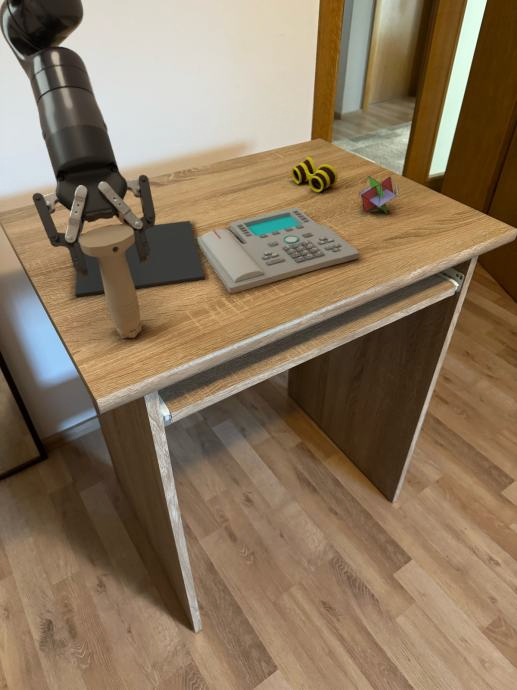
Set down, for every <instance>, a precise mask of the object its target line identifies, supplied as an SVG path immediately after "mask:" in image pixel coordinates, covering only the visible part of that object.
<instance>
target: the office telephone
mask: <svg viewBox="0 0 517 690" xmlns="http://www.w3.org/2000/svg"><path fill="white" fill-rule="evenodd" d="M197 245H198V247H199V249H200V251H201V252H202V253H203V255H204V256H205V258H206V259H207V261H208V264H209V265H210V267H211V268H212V269H213V271H214V272H215V274H216V275H217V276H218V278H219V279H220V281H221V282H222V283H223V285H224V287H225V288H226V290H227V291H228V293H229V294H234V293H238V292H243V291H246V290H249V289H253V288H256V287H260V286H264V285H267V284H271V283H275V282H277V281H281V280H284V279H288V278H291V277H296V276H298V275H299V276H300V275H302V274H306V273H309V272H312V271H316V270H319V269H323V268H326V267H330V266H335V265H338V264H339V265H340V264H343V263H347V262H350V261H353V260H354V261H355V260H358V259H359V255H360V252H359V250H358V249H357V248H355V247H354V246H353V245H352V244H350V243H349V242H347V241H346V240H345V239H344V238H342V237H341V236H340V235H338V234H337V232H334V230H332V229H331V228H329V227H328V226H326V225H324V224H319V223H317V222H316V221H315V220H314V219H312V218H311V217H310V216H308V215H307V214H306V213H304V212H303V211H302V210H301V208H300V207H292V208H286V209H283V210H279V211H274V212H270V213H269V212H268V213H265V214H261V215H257V216H253V217H248V218H244V219H240V220H235V221H233V222H230V223H229V230H228V229H224V228H223V229H222V228H221V229H220V228H219V229H212V230H210V231H208V232H206V233H204V234H203V235H199V236H197Z"/></svg>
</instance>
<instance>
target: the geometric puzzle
mask: <svg viewBox="0 0 517 690" xmlns="http://www.w3.org/2000/svg"><path fill="white" fill-rule="evenodd" d="M367 181H369V182H368V183H369V186H368V187H367V188H365V187H362V188H363V189H362V191H360V192H359V193H358V195H359V198H360V201H361V205H362V208H363V211H364V213H365V214H367V213H369V214H370V213H373V212H371V211H373V210H375V209H380V210H381V211H383V213H385V214H388V211H389V209H387V207H386V204H387V203H388V202H390V203H389V205H388V207H391V206H390V205H391V204H392V200H393V199H395V198H397V197H399V193H400V189H399V185H398V183H396V182H395V180H394V179H393V178H392V176H388V177H386V178H384V179H381V180H379V181H378V180H376V179H374V178H373V177H372V176H370V175H367V178H366V179H365V181H364V185H366V184H367ZM364 188H365V189H364ZM374 207H375V208H374Z"/></svg>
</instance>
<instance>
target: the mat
mask: <svg viewBox="0 0 517 690" xmlns="http://www.w3.org/2000/svg"><path fill="white" fill-rule="evenodd" d="M85 233H86V232H85ZM85 233H81V234H80V236H81V235H83V234H85ZM145 235H146V238H147V242H148V245H149V248H150V255H149V258H147V263H144V264H141V263H140V260H139V257H138V253H137V250H136V247H135V243H134V244H132V245H131V246H130V247H129V248H128V249H126V250H125V254H126V259H127V263H128V267H129V270H130V274H131V277H132V281H133V284H134V287H135V290H138V289H144V288H152V287H158V286H165V285H173V284H180V283H188V282H194V281H202V280H205V279H206V277H205V273H204V270H203V266H202V262H201V257H200V254H199V251H198V247H197V243H196V239H195V235H194V232H193V228H192V224H191V221H190V220H185V221H176V222H175V221H174V222H167V223H160V224H154V226H153V227H152V228H148V229H147V230H146V231H145ZM82 253H83V256H84V260H85V263H86V267H87V270H88V274H89V276H86V277H83V274H82V273H77V272H76V279H75V289H74V296H75V298H81V297H87V296H94V295H102V294H105V292H104V286H103V281H102V276H101V271H100V266H99V262H98V259H97V257H92V256H89V255H86V254H85V253H84V252H83V251H82Z"/></svg>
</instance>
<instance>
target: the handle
mask: <svg viewBox="0 0 517 690" xmlns="http://www.w3.org/2000/svg"><path fill="white" fill-rule="evenodd" d="M82 234H83V235H81V234H80V237H79V243H80V247H81V249H82V251H83V252H84V253H85V254H86V255H89V256H92V257H97V259H98V262H99V266H100V271H101V276H102V281H103V286H104V292H105V293H104V296H105V301H106V305H107V309H108V312H109V315H110V318H111V320H112V323H113V325H114V326H115V330H116V332H117V334H118V335H119V336H120V338H122V339H128V338H129V339H134V338H136V337H137V335H138V334H139V333H141V332H142V323H141V310H140V303H139V299H138V294H137V291H136V290H137V289H135V287H134V284H133V281H132V277H131V274H130V270H129V267H128V263H127V259H126V254H125V250H126V249H128V248H129V247H130V246H131V245H132V244H134V242H135V236H134V231H133V229H132V228H131V227H130V226H128V225H125V224H123V223H118V224H116V223H115V224H108V225H107V224H106V225H103V226H99V227H97V228H93V229H90V230H88V231H86V232H85V234H84V233H82Z"/></svg>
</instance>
